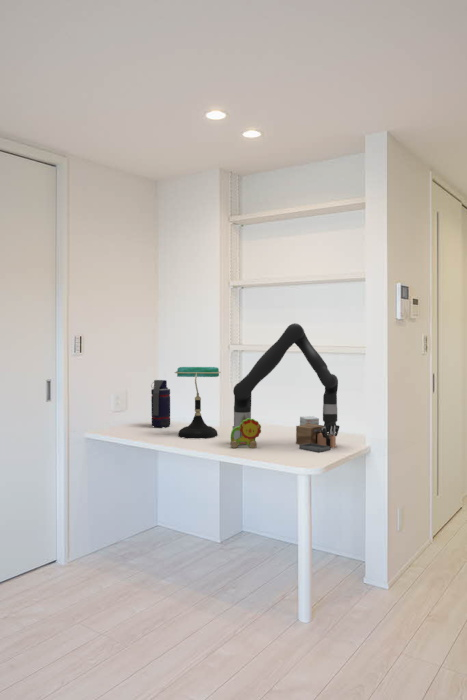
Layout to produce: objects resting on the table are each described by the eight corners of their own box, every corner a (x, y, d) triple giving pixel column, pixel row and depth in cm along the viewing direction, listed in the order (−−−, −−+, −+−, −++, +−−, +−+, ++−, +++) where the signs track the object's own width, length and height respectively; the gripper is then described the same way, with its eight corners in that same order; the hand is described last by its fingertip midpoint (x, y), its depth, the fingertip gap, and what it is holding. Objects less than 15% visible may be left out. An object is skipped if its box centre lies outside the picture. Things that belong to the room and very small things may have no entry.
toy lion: (230, 448, 297) (230, 419, 296) (230, 446, 302) (230, 417, 302) (261, 448, 297) (261, 419, 296) (260, 446, 302) (260, 417, 302)
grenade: (156, 424, 376) (156, 379, 375) (173, 425, 372) (173, 379, 371) (146, 428, 363) (146, 380, 362) (164, 428, 359) (163, 381, 358)
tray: (319, 452, 286) (319, 448, 286) (299, 448, 295) (299, 445, 295) (330, 450, 292) (330, 446, 292) (310, 446, 301) (310, 443, 301)
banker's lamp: (222, 432, 346) (222, 366, 345) (217, 439, 323) (217, 368, 322) (179, 431, 348) (179, 365, 347) (171, 438, 325) (171, 368, 324)
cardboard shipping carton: (311, 446, 302) (311, 428, 301) (296, 443, 309) (296, 426, 309) (325, 443, 310) (325, 425, 309) (310, 440, 318) (310, 423, 317)
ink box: (305, 439, 322) (305, 418, 322) (299, 436, 330) (299, 416, 330) (319, 438, 324) (319, 417, 324) (313, 436, 333) (313, 415, 332)
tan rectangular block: (332, 447, 298) (332, 436, 298) (317, 445, 305) (317, 433, 305) (335, 447, 299) (335, 435, 299) (320, 444, 307) (320, 433, 307)
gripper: (332, 410, 307) (332, 442, 308) (315, 413, 298) (316, 446, 298) (344, 411, 302) (344, 444, 302) (327, 414, 292) (327, 448, 293)
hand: (330, 445), depth 300 cm, fingers closed on tan rectangular block, 2 cm apart
